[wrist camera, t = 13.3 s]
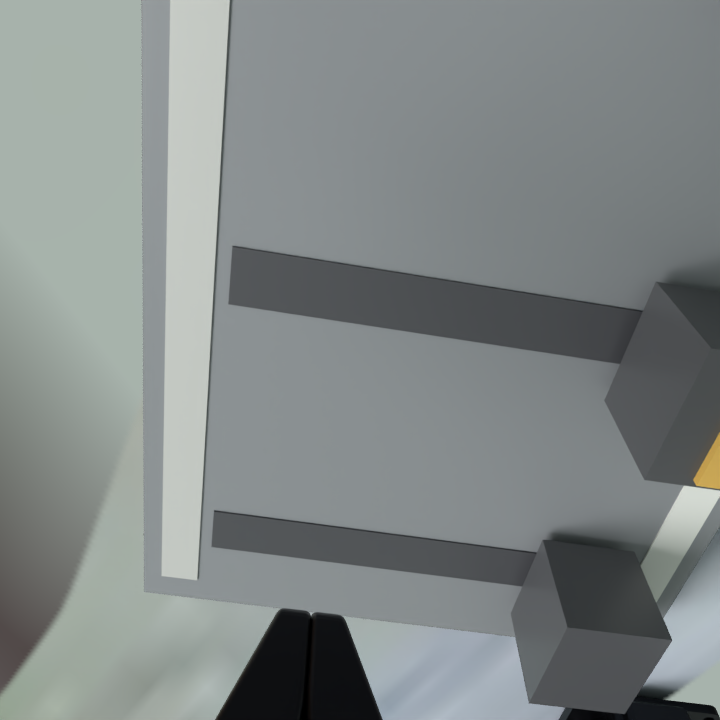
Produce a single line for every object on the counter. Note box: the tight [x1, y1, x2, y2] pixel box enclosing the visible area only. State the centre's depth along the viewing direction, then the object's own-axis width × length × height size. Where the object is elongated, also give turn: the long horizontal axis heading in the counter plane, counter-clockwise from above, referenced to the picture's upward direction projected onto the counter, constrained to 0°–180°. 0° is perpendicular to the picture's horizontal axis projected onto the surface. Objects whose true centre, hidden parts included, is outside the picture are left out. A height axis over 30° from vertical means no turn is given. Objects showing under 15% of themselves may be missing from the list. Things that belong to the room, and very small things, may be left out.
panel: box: [141, 0, 720, 714], centre depth 17 cm, size 25×18×6 cm
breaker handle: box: [604, 282, 720, 491], centre depth 16 cm, size 4×3×3 cm
